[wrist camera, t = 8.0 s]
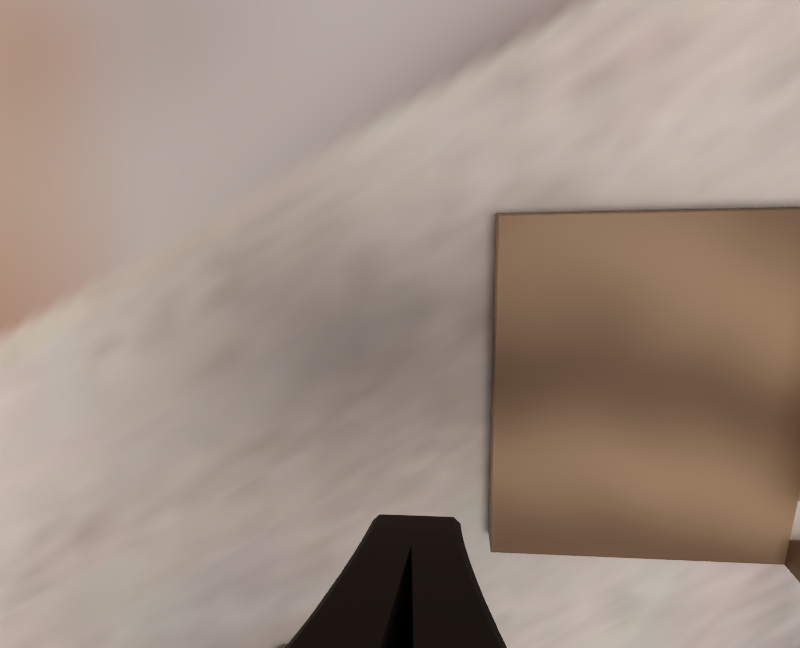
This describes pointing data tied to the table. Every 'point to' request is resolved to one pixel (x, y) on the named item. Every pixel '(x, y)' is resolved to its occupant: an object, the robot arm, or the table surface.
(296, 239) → the table surface
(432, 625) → the robot arm
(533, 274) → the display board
